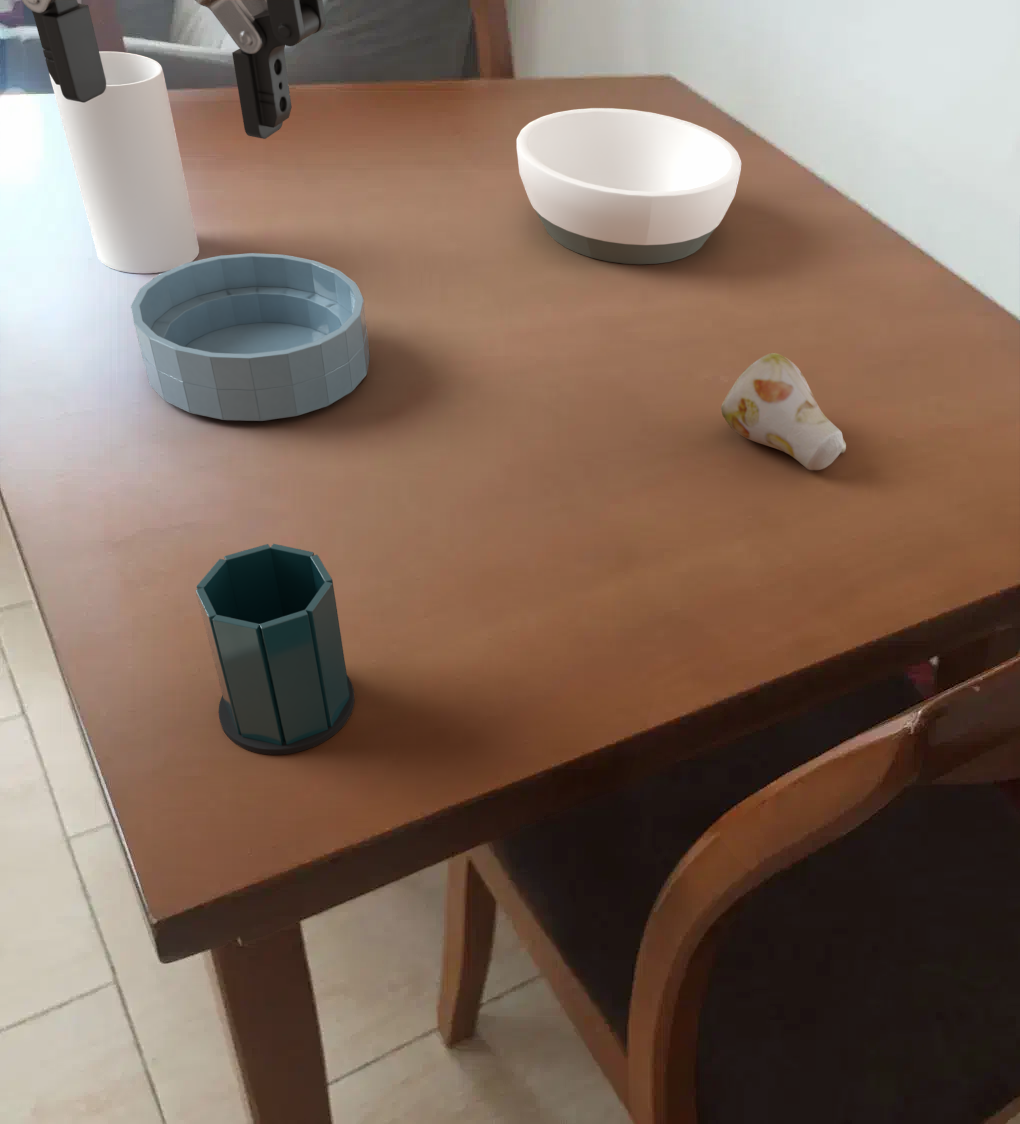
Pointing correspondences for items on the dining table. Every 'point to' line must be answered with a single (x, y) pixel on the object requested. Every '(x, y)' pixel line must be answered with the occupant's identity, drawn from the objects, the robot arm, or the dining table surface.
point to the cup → (131, 168)
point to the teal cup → (275, 642)
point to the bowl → (627, 182)
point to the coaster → (284, 749)
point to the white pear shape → (782, 413)
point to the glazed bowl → (252, 336)
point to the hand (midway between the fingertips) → (176, 114)
